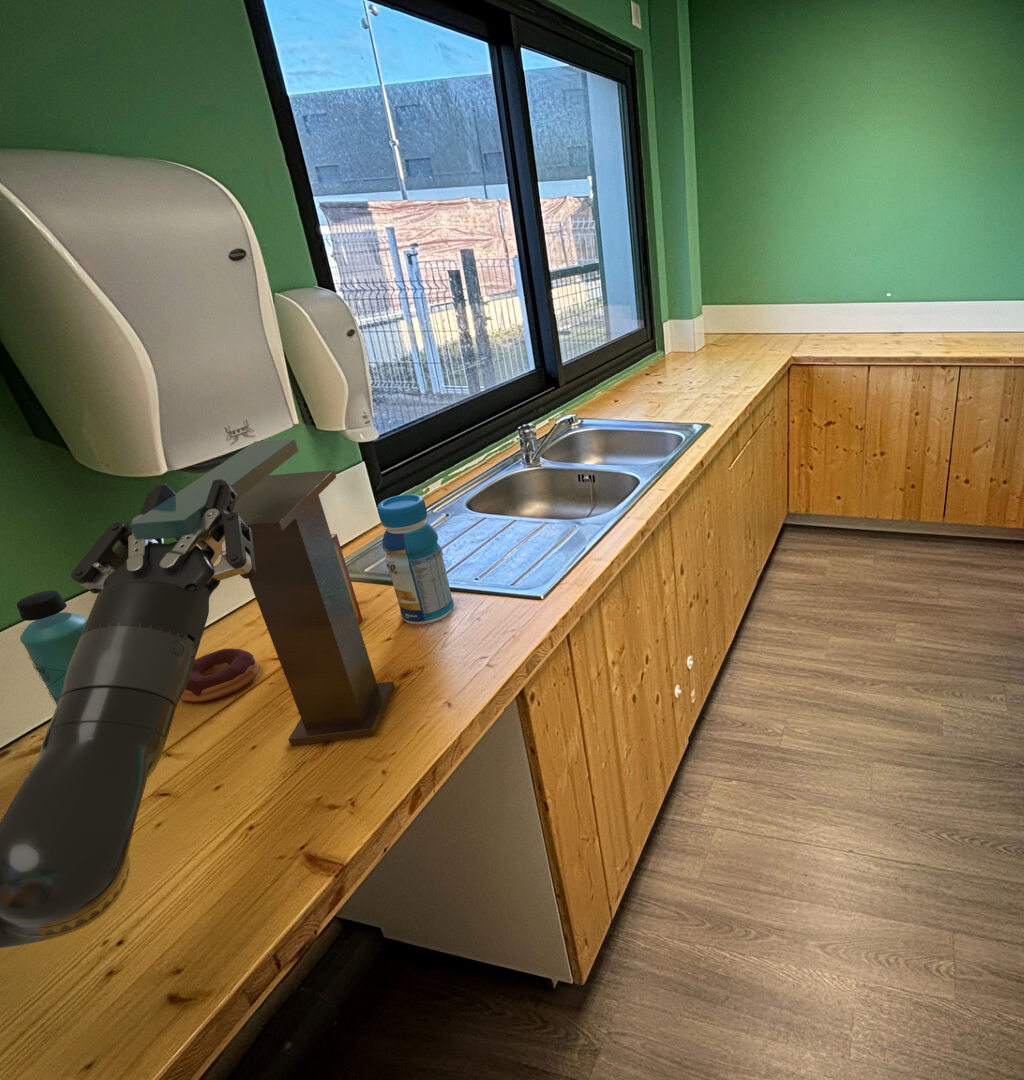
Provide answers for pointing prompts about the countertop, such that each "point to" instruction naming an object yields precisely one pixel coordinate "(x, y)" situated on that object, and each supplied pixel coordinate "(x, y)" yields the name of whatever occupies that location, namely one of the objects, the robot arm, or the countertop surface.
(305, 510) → the stand
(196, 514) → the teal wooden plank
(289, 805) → the countertop surface
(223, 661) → the donut
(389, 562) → the beverage bottle
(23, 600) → the beverage bottle
